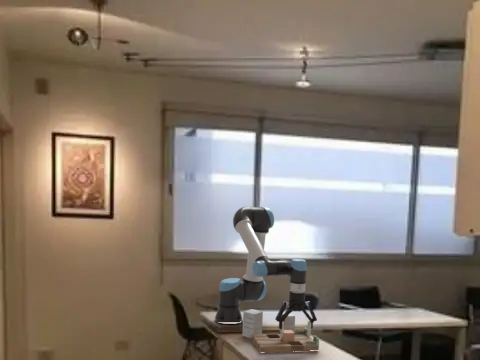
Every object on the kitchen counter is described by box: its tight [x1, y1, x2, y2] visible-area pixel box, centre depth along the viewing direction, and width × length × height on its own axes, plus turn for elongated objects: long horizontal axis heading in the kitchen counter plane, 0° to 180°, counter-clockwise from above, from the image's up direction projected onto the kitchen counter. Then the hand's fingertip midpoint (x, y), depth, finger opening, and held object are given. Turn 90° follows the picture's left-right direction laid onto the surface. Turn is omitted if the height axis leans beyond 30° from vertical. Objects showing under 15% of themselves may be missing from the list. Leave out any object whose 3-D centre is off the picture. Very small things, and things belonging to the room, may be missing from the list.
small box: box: [278, 311, 296, 333], centre depth 255 cm, size 8×6×10 cm
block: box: [281, 330, 295, 342], centre depth 236 cm, size 5×5×4 cm
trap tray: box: [251, 327, 320, 353], centre depth 236 cm, size 18×28×6 cm, turn 102°
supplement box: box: [242, 308, 264, 340], centre depth 249 cm, size 7×7×13 cm
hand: (295, 335), depth 237 cm, fingers open, 13 cm apart
